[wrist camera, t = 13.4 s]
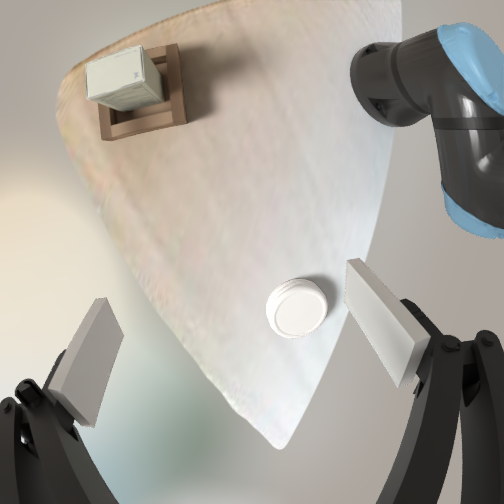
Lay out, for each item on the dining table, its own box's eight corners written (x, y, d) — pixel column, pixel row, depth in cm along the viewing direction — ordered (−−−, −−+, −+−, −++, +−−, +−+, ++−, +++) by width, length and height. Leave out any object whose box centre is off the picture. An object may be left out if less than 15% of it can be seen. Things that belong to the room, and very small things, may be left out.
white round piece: (297, 265, 43) (304, 274, 40) (331, 300, 47) (339, 310, 44) (253, 307, 45) (256, 319, 41) (290, 336, 48) (296, 348, 45)
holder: (179, 53, 29) (177, 43, 26) (187, 123, 33) (185, 119, 29) (105, 72, 28) (96, 64, 24) (111, 141, 32) (101, 140, 28)
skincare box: (162, 74, 29) (144, 42, 18) (165, 103, 31) (147, 81, 20) (118, 86, 29) (84, 61, 17) (121, 115, 30) (85, 100, 19)
